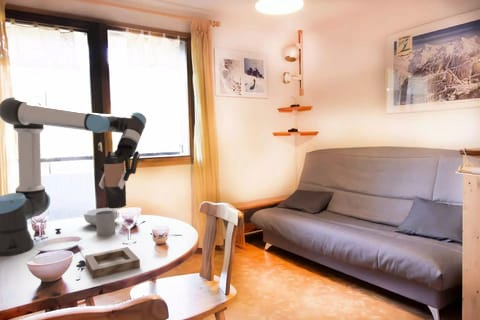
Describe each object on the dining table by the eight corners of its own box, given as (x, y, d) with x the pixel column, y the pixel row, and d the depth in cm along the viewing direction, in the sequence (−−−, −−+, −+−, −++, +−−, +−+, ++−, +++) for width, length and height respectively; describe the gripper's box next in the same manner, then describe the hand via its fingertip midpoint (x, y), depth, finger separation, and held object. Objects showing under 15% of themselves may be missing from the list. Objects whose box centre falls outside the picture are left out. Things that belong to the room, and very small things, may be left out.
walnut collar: (93, 278, 118) (92, 270, 118) (85, 263, 131) (84, 255, 131) (139, 267, 126) (139, 259, 126) (128, 254, 140) (127, 246, 140)
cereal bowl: (122, 219, 193) (121, 206, 192) (113, 228, 176) (112, 214, 176) (91, 220, 192) (90, 207, 191) (79, 229, 175) (78, 215, 175)
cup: (108, 235, 164) (107, 215, 163) (93, 234, 166) (92, 214, 165) (118, 230, 173) (117, 210, 172) (103, 229, 174) (102, 210, 173)
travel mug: (130, 205, 139) (127, 156, 137) (114, 209, 133) (111, 158, 131) (118, 203, 143) (115, 155, 141) (102, 207, 137) (99, 157, 135)
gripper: (153, 148, 149) (138, 192, 135) (110, 148, 152) (91, 191, 139) (147, 136, 143) (131, 181, 129) (103, 136, 147) (82, 181, 133)
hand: (110, 186), depth 134 cm, fingers closed on travel mug, 7 cm apart
